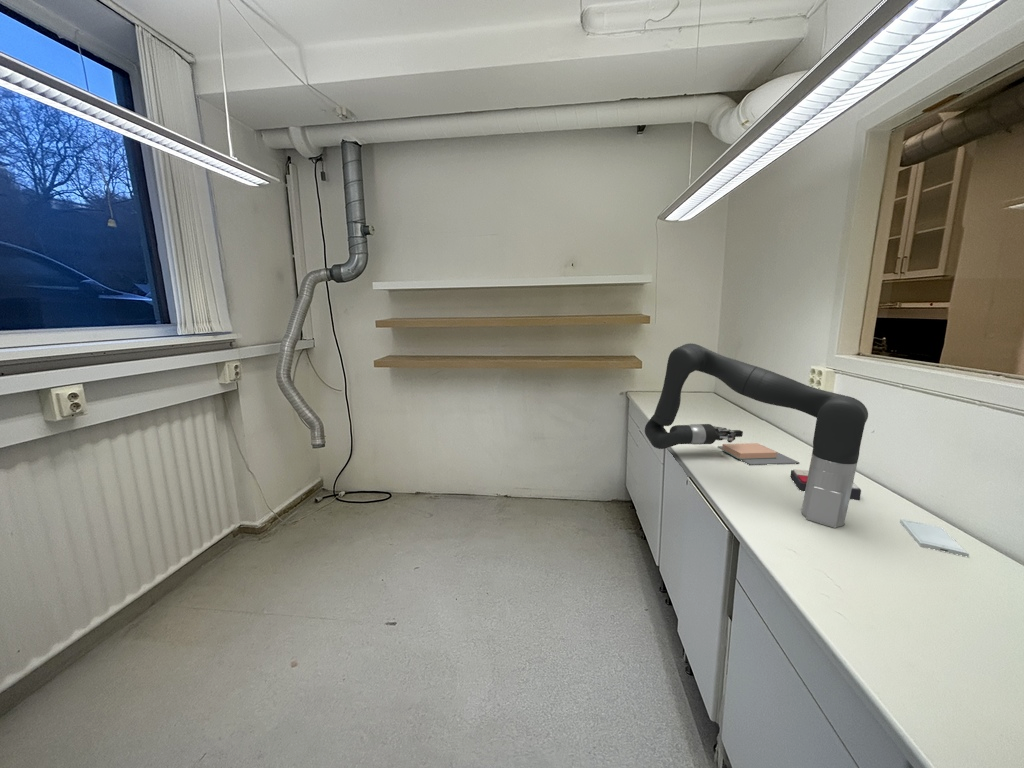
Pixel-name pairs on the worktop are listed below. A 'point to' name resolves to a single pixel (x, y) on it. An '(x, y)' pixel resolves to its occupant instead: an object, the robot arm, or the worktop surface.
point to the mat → (769, 460)
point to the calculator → (801, 480)
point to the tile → (749, 451)
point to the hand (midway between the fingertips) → (741, 433)
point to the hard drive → (932, 537)
